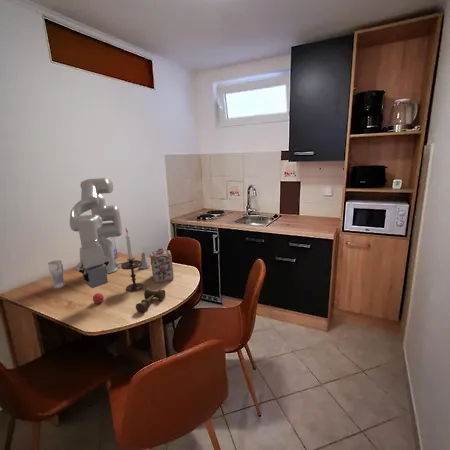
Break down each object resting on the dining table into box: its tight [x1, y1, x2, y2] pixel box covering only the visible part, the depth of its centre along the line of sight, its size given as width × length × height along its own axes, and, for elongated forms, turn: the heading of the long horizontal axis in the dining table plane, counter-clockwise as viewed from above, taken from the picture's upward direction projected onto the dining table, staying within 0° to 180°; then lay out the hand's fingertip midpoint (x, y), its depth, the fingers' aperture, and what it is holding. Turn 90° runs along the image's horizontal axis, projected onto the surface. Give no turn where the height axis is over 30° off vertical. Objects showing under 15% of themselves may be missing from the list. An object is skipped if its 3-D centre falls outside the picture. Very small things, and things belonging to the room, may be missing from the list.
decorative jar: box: [149, 247, 175, 284], centre depth 163 cm, size 12×12×18 cm
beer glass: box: [47, 259, 66, 290], centre depth 158 cm, size 7×7×15 cm
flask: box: [138, 252, 151, 270], centre depth 182 cm, size 7×7×10 cm
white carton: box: [108, 237, 119, 260], centre depth 197 cm, size 14×6×16 cm, turn 145°
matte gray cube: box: [84, 265, 109, 289], centre depth 134 cm, size 8×8×9 cm
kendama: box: [135, 286, 166, 314], centre depth 136 cm, size 6×10×20 cm
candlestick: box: [120, 227, 144, 293], centre depth 149 cm, size 11×11×35 cm
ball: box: [92, 292, 105, 304], centre depth 138 cm, size 5×5×5 cm
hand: (95, 277), depth 134 cm, fingers closed on matte gray cube, 7 cm apart
